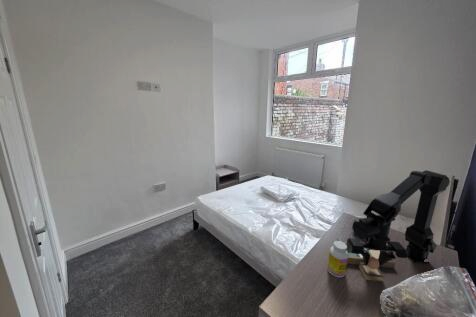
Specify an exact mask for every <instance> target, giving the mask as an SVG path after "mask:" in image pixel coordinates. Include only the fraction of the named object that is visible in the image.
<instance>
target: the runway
mask: <svg viewBox="0 0 476 317" xmlns="http://www.w3.org/2000/svg"><path fill="white" fill-rule="evenodd" d="M336 241H341V242H343V243H345V244H346V245H347V241H342V240H341V238H340V237H337V240H336ZM347 252H348V255H349V256H348V262H347V265H349V264H351V265H358V266H359V265H360V263H364V260H363V256H362V255H361V254H355V253H352V252H351V250H350V248H349V246H348V245H347ZM368 253H369V254H370V256H372V257H375V258H376V259H377V260H378V258H379V254H380V251H377V250H369V252H368ZM396 264H397V263H396V261H395V260H394V259H392V260H390V261H388V262H386V263H385V264H384V265H382V266H381V267H380V268H388V269H389V268H390V269H394V268H396V267H395V266H396Z"/></svg>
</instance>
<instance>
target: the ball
mask: <svg viewBox="0 0 476 317" xmlns="http://www.w3.org/2000/svg"><path fill="white" fill-rule="evenodd" d="M367 265H368V267H370V268H371V269H377V268H380V267H379V265H380V264H379V261H378V260H377V259H376V258H375V257H372V256H370V259H369V262H368V264H367Z"/></svg>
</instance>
